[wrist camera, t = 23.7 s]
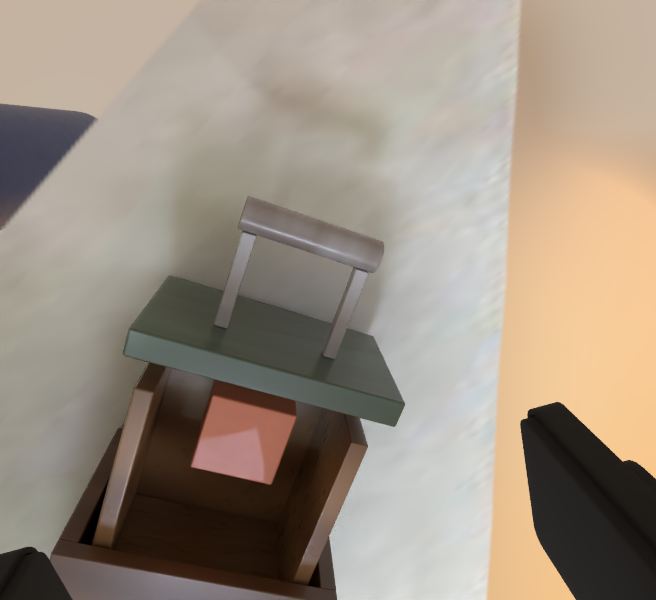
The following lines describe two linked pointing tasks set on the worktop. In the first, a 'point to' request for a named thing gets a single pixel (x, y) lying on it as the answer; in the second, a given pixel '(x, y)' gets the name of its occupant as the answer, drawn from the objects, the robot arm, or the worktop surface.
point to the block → (243, 432)
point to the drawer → (261, 375)
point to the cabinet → (159, 564)
